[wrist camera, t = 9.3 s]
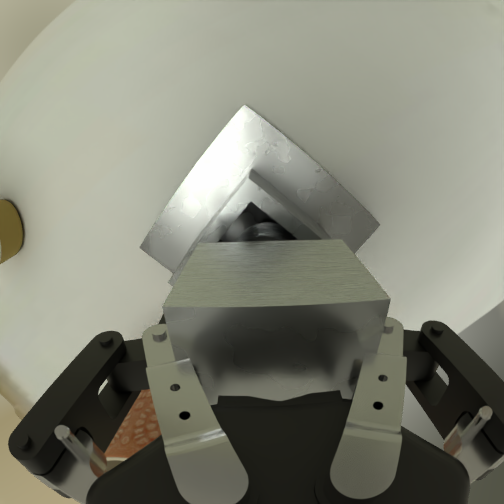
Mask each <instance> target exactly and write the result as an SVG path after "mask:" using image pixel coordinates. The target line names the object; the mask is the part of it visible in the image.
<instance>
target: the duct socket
mask: <svg viewBox="0 0 504 504" xmlns="http://www.w3.org/2000/svg"><path fill="white" fill-rule="evenodd" d="M265 222H270V223H276V224H280V225H281V226H283V227H284V228H285V229H286V230H287V231H289V232H290V233H291V234H292V235H294V236H295V237H296V238H297V240H336V239H342V240H343V242H344V243H345V244H346V245H347V246H348V247H349V248H350V250H351V251H352V252H353V253H355V252H356V251H357V250H358V249H359V248H360V247H361V246H362V245H363V243H364V242H365V241H366V240H367V239H368V238H369V237H370V236H371V235H372V233H373V232H374V231H375V230H376V229H377V228H378V227H379V225H380V224H379V223H378V222H377V221H376V219H375V218H374V217H373V216H372V215H371V214H370V213H369V212H368V211H367V210H366V209H365V208H364V207H363V206H362V205H361V204H360V203H359V202H358V201H357V200H356V199H355V198H354V197H353V196H352V195H351V194H350V193H349V192H348V191H347V190H346V189H345V188H344V187H342V186H341V185H340V184H339V183H338V182H337V181H336V180H335V179H334V178H333V177H332V176H331V175H330V174H329V173H327V172H326V171H325V170H324V169H323V168H322V167H321V166H320V165H319V164H318V163H316V162H315V161H314V160H313V159H312V158H311V157H310V156H308V155H307V154H306V153H305V152H304V151H303V150H301V149H300V148H299V147H298V146H297V145H295V144H294V143H293V142H292V141H291V140H289V139H288V138H287V137H286V136H285V135H283V134H282V133H281V132H280V131H278V130H277V129H276V128H275V127H273V126H272V125H271V124H270V123H268V122H267V121H266V120H264V119H263V118H262V117H260V116H259V115H258V114H256V113H255V112H254V111H252V110H251V109H250V108H248V107H247V106H246V105H243V106H242V107H241V108H240V110H239V111H238V112H237V113H236V114H235V116H234V117H233V118H232V119H231V120H230V122H229V123H228V124H227V125H226V126H225V128H224V129H223V130H222V131H221V133H220V134H219V135H218V136H217V138H216V139H215V140H214V141H213V143H212V144H211V145H210V146H209V148H208V149H207V150H206V152H205V153H204V154H203V156H202V157H201V158H200V159H199V161H198V162H197V163H196V165H195V166H194V168H193V169H192V170H191V172H190V173H189V174H188V176H187V177H186V178H185V180H184V181H183V183H182V184H181V185H180V187H179V188H178V190H177V191H176V193H175V194H174V195H173V197H172V198H171V200H170V201H169V203H168V204H167V206H166V207H165V209H164V210H163V212H162V213H161V215H160V216H159V218H158V219H157V221H156V222H155V224H154V225H153V227H152V228H151V230H150V232H149V233H148V235H147V236H146V238H145V239H144V241H143V243H142V244H141V246H140V249H142V250H143V251H144V252H146V253H147V254H148V255H150V256H151V257H152V258H154V259H155V260H156V261H158V262H159V263H160V264H162V265H163V266H164V267H166V268H167V269H168V270H170V271H171V272H172V273H173V275H172V277H171V278H170V280H169V282H168V283H169V284H171V285H172V286H174V285H175V283H176V281H177V279H178V278H179V276H180V274H181V272H182V271H183V269H184V267H185V265H186V264H187V262H188V260H189V258H190V257H191V255H192V253H193V252H194V250H195V248H196V247H197V245H198V243H215V242H236V241H237V239H238V237H239V236H240V235H241V234H242V233H243V232H244V231H245V230H246V229H248V228H249V227H251V226H253V225H255V224H259V223H265Z"/></svg>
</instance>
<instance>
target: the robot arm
mask: <svg viewBox="0 0 504 504" xmlns="http://www.w3.org/2000/svg"><path fill="white" fill-rule="evenodd" d="M439 365H440V366H441V368H442V369H443V370H444V371H445V372H446V374H447V375H448V377H449V385H448V386H447V385H446V383H445V382H444V381H443V380H442V379H441V377H440V376H439V375H438V374H437V372H436V370H437V368H438V366H439ZM106 379H107V381H108V383H107V384H106V385H105V387H104V388H103V390H102V391H101V392H100V394H99V395H98V391H99V388H100V386H101V385H102V384H103V382H104V381H105V380H106ZM405 384H406V385H407V387H408V388H409V389H410V391H411V392H412V394H413V395H414V396H415V398H416V399H417V401H418V402H419V404H420V405H421V407H422V408H423V410H424V411H425V412H426V414H427V415H428V417H429V418H430V420H431V421H432V423H433V424H434V426H435V427H436V429H437V430H438V432H439V433H440V435H441V436H442V438H443V439H444V451H443V450H441V449H440V448H438V447H436V446H434V445H433V444H431V443H429V442H427V441H426V440H424V439H422V438H421V437H419V436H417V435H416V434H414V433H412V432H411V431H409V430H407V429H405V428H404V427H402V426H401V422H402V414H403V406H404V395H405ZM147 389H150V391H151V395H152V400H153V404H154V408H155V412H156V416H157V420H158V423H159V427H160V430H161V434H162V435H160V436H159V437H157V438H156V439H155V440H153V441H152V442H151V443H149V444H148V445H146V446H145V447H144V448H142V449H141V450H139V451H138V452H136V453H135V454H133V455H132V456H130V457H129V458H127V459H126V460H124V461H123V462H121V463H120V464H118V465H117V466H115V467H114V468H112V469H111V470H109V471H107V472H106V466H107V459H106V456H105V454H104V453H105V452H106V450H107V448H108V446H109V445H110V443H111V441H112V439H113V438H114V436H115V434H116V433H117V431H118V429H119V428H120V426H121V424H122V423H123V421H124V419H125V417H126V416H127V414H128V412H129V411H130V409H131V407H132V406H133V404H134V402H135V401H136V399H137V397H138V396H139V394H140V392H141V390H147ZM8 445H9V450H10V452H11V454H12V455H13V456H14V457H15V458H16V459H17V460H18V461H19V462H20V463H21V464H22V465H23V466H25V467H26V469H27V470H28V471H29V472H30V473H31V474H33V475H34V476H35V477H36V478H37V479H39V480H40V481H41V482H42V483H44V484H45V485H47V486H48V487H49V488H52V489H53V490H54V491H56V492H57V493H59V494H60V495H61V496H63V497H66V498H73V499H74V500H76V501H78V502H79V503H81V504H468V498H469V492H470V484H471V483H472V482H473V481H474V480H481V479H483V478H485V477H486V476H487V475H488V474H489V473H490V472H492V471H493V470H494V469H495V468H496V467H497V466H498V465H499V464H500V463H502V462H503V461H504V382H503V381H502V379H501V378H500V377H499V376H498V375H497V374H496V373H495V372H494V371H493V370H492V369H491V368H490V367H489V366H488V365H487V364H486V363H485V362H484V361H483V360H482V359H481V358H480V357H479V356H478V355H477V354H476V353H475V352H474V351H473V350H472V349H471V348H470V347H469V346H468V345H467V344H466V343H465V342H464V341H463V340H462V339H461V338H460V337H459V336H458V335H457V334H456V333H455V332H454V331H452V330H451V329H450V328H449V327H448V326H447V325H446V324H444V323H442V322H439V321H427V322H425V323H424V324H423V325H422V327H421V331H411V330H404V329H403V325H402V324H401V323H400V322H399V321H398V320H396V319H394V318H391V317H386V321H385V325H384V329H383V333H382V337H381V340H380V344H379V348H377V349H370V350H365V352H364V356H363V360H362V364H361V368H360V371H359V375H358V378H357V382H356V385H355V388H354V391H353V394H352V397H351V399H344V398H342V396H341V392H340V390H336V391H327V392H317V393H310V394H306V395H302V396H299V397H295V398H291V399H288V400H284V401H275V400H269V399H263V398H257V397H252V396H221V395H218V402H217V404H214V405H210V404H209V402H208V400H207V398H206V395H205V393H204V391H203V389H202V386H201V384H200V382H199V380H198V377H197V375H196V373H195V370H194V368H193V365H192V363H191V361H190V359H189V357H188V358H187V357H176V356H174V353H173V349H172V345H171V341H170V337H169V333H168V329H167V325H166V320H165V316H164V314H163V316H162V318H161V320H160V322H159V324H157V325H154V326H151V327H149V328H148V329H146V330H145V331H144V333H143V335H142V338H141V339H136V340H129V341H124V340H123V337H122V335H121V334H120V333H119V332H116V331H106V332H103V333H100V334H98V335H97V336H95V337H94V338H93V339H92V340H91V341H90V343H89V344H88V345H87V346H86V347H85V348H84V349H83V350H82V351H81V352H80V353H79V354H78V356H77V357H76V358H75V359H74V360H73V361H72V362H71V363H70V364H69V366H68V367H67V368H66V369H65V370H64V371H63V372H62V373H61V375H60V376H59V377H58V378H57V379H56V380H55V381H54V383H53V384H52V385H51V386H50V387H49V388H48V389H47V391H46V392H45V393H44V394H43V395H42V397H41V398H40V399H39V400H38V401H37V402H36V404H35V405H34V406H33V407H32V409H31V410H30V411H29V412H28V413H27V415H26V416H25V417H24V418H23V420H22V421H21V422H20V423H19V425H18V426H17V427H16V429H15V430H14V431H13V433H12V434H11V435H10V438H9V443H8Z"/></svg>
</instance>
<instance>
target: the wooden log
mask: <svg viewBox="0 0 504 504" xmlns="http://www.w3.org/2000/svg"><path fill="white" fill-rule="evenodd" d="M22 239H23V231H22V224H21V220H20V217H19V215H18V213H17V211H16V209H15V207H14V206H13V205H12V204H11V203H10V202H8V201H6V200H0V264H1V263H3V262H5V261H6V260H8V259H9V258H11V257H13V256H14V255H16V254H17V253H18V251H19V250H20V247H21V244H22Z"/></svg>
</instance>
